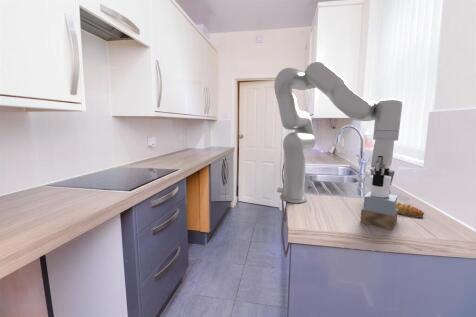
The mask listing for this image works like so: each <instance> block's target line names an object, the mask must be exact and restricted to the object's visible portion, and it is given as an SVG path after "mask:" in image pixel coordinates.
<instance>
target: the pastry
mask: <svg viewBox="0 0 476 317" xmlns="http://www.w3.org/2000/svg"><path fill="white" fill-rule="evenodd" d="M396 208H397V209H398V214H399V215H400V214H401V215H402V216H406V217H413V218H422V217H424V214H425V212H424V211H423V210H421V209H419V208H417V207H415V206H412V205H410V204H406V203H400V202H397V204H396Z"/></svg>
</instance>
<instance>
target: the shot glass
mask: <svg viewBox="0 0 476 317" xmlns="http://www.w3.org/2000/svg"><path fill="white" fill-rule="evenodd" d="M368 179H369V188H370V191H371V195H372V196H374V197H381V198H385V197H389V193H390V194H391V185H392V183H391V176H387V175H384V182H383V186H382V187H379V186H373V185H372V181H373V175H371V174H370V175H369V176H368ZM390 184H391V185H390Z"/></svg>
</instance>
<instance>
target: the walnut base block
mask: <svg viewBox="0 0 476 317" xmlns="http://www.w3.org/2000/svg"><path fill="white" fill-rule="evenodd" d="M363 209H364V206H363V207H362V209H361V210H360V223H362V224H365V225H369V226H374V227H379V228H382V229H386V230H391V231H393V230H394V228H395V226H396V224H397V222H398V209H397V208H396V210H395V212H394V215H393V216H391V215H386V214H381V213H376V212H371V211H366V210H363Z"/></svg>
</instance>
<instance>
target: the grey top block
mask: <svg viewBox="0 0 476 317" xmlns="http://www.w3.org/2000/svg"><path fill="white" fill-rule="evenodd" d="M390 194H391V193H390ZM390 194H389V197H385V198H381V197H374V196H372V195H371V190H370V191H368V192H367V193H366V195H365V194H364V195H365V196H364V199H363V200H364V201H363V207H364V209H363V210H366V211H371V212H376V213H381V214H386V215H391V216H393V215H394V212H395V210H396V204H397V203H398V195H396V194H391V195H390Z"/></svg>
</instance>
